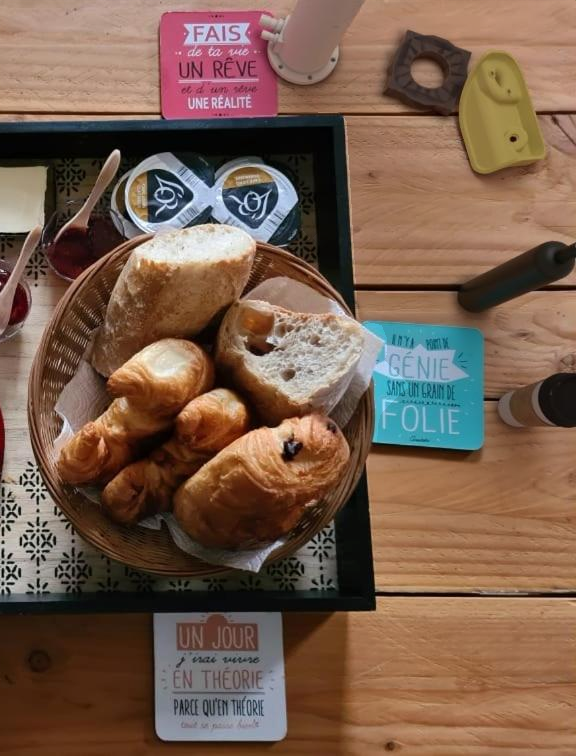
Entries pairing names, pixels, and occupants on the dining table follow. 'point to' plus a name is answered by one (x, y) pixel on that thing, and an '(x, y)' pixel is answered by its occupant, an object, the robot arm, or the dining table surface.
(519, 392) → the coffee cup
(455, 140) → the dining table surface
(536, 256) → the wine bottle
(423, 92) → the brown square ring
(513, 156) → the plastic component
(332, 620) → the dining table surface
